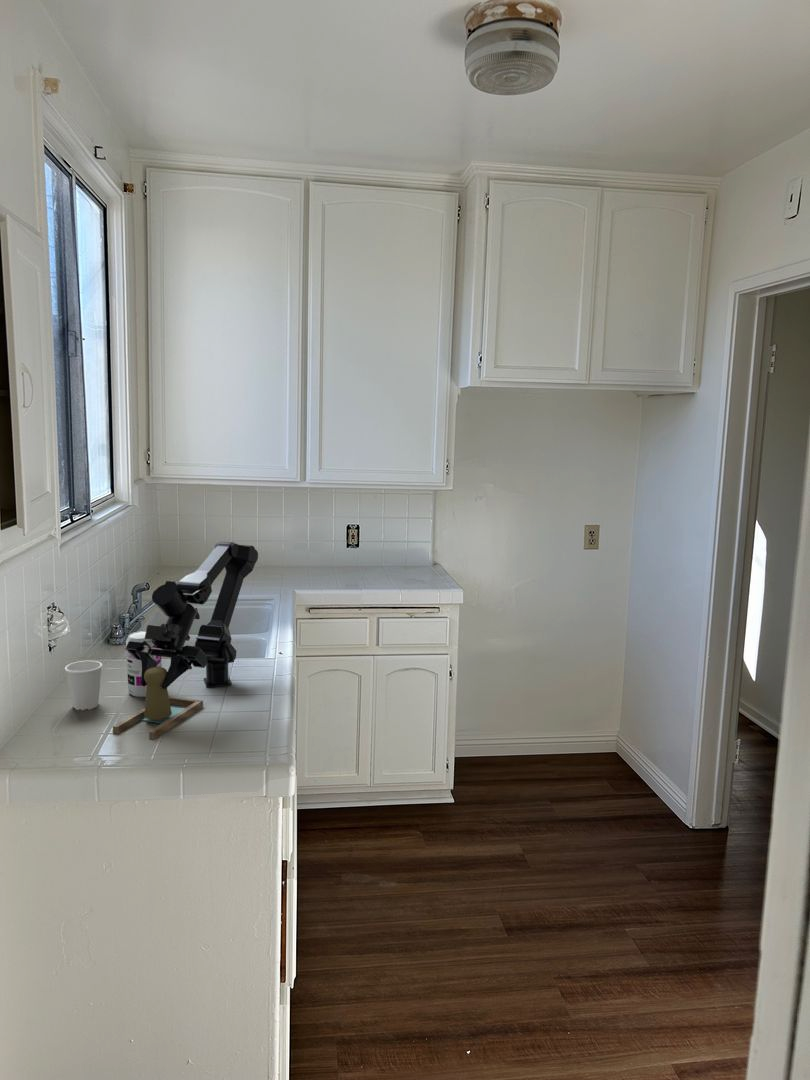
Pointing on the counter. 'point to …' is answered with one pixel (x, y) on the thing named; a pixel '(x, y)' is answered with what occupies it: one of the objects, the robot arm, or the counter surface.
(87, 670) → the dixie cup
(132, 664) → the supplement can
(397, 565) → the counter surface
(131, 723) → the rail track
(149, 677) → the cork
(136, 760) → the counter surface
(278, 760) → the counter surface
